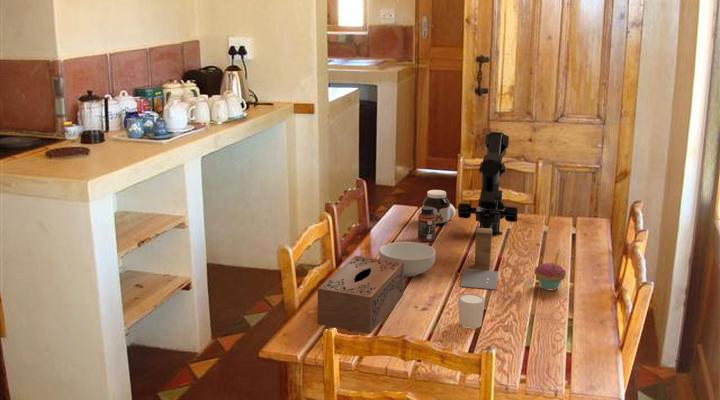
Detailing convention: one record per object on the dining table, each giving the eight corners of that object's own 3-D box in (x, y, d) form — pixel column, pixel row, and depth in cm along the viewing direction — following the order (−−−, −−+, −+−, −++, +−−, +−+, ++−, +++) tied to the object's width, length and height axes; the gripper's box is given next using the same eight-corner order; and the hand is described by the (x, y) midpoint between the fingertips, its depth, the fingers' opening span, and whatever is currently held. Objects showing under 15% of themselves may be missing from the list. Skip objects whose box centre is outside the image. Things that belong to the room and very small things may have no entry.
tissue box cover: (355, 288, 213) (355, 255, 210) (403, 296, 208) (404, 262, 205) (317, 324, 190) (317, 288, 187) (370, 334, 184) (371, 297, 182)
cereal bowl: (442, 267, 228) (443, 245, 226) (423, 286, 214) (424, 263, 212) (391, 258, 235) (391, 237, 233) (369, 276, 221) (370, 254, 219)
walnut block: (475, 264, 231) (477, 227, 228) (490, 265, 230) (492, 228, 227) (474, 269, 227) (476, 232, 223) (489, 270, 226) (491, 233, 222)
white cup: (454, 318, 193) (455, 293, 191) (480, 317, 194) (481, 293, 192) (459, 330, 186) (461, 304, 184) (486, 329, 187) (488, 304, 185)
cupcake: (565, 284, 216) (568, 245, 213) (562, 295, 208) (566, 254, 205) (535, 280, 219) (538, 241, 215) (531, 291, 211) (534, 251, 208)
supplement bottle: (434, 243, 250) (435, 210, 247) (416, 241, 251) (417, 209, 248) (436, 237, 256) (437, 205, 252) (418, 236, 257) (419, 204, 254)
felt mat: (464, 269, 227) (464, 268, 226) (498, 272, 224) (498, 271, 224) (460, 286, 213) (460, 285, 213) (495, 290, 211) (495, 289, 211)
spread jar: (420, 225, 268) (421, 194, 265) (423, 216, 279) (424, 186, 276) (454, 227, 267) (455, 196, 263) (455, 218, 277) (457, 187, 274)
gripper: (459, 178, 236) (454, 221, 229) (519, 182, 232) (516, 226, 225) (461, 195, 246) (456, 237, 238) (518, 199, 242) (515, 242, 234)
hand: (485, 235), depth 234 cm, fingers closed
